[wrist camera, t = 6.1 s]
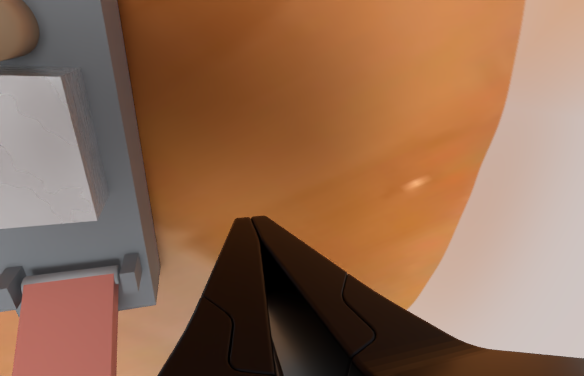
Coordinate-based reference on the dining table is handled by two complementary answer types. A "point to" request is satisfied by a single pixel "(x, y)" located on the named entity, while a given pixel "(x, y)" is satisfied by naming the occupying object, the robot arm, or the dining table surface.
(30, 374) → the lever
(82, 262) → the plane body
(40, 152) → the light grey flat block
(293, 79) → the dining table surface
